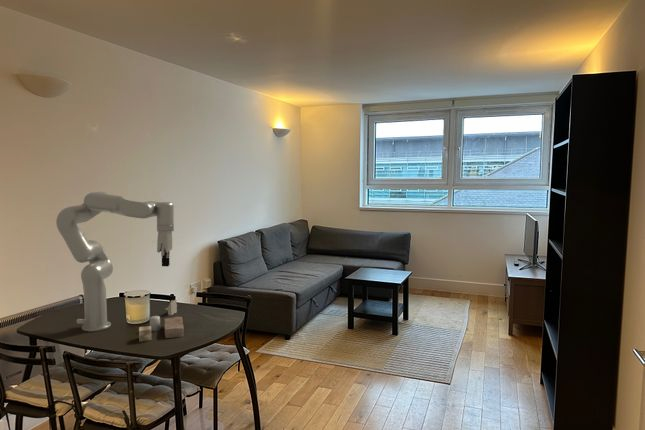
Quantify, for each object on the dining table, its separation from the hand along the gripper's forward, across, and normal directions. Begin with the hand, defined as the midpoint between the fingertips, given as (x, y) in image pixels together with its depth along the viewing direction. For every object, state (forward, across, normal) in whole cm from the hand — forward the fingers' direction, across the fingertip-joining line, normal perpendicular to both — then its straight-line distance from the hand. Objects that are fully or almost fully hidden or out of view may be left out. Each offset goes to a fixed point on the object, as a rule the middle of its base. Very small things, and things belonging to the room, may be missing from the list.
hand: (165, 265), depth 213 cm
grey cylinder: (+30, +3, -4) cm, 31 cm away
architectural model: (+31, -21, -2) cm, 38 cm away
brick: (+31, +6, +5) cm, 32 cm away
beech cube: (+30, +15, -5) cm, 34 cm away
